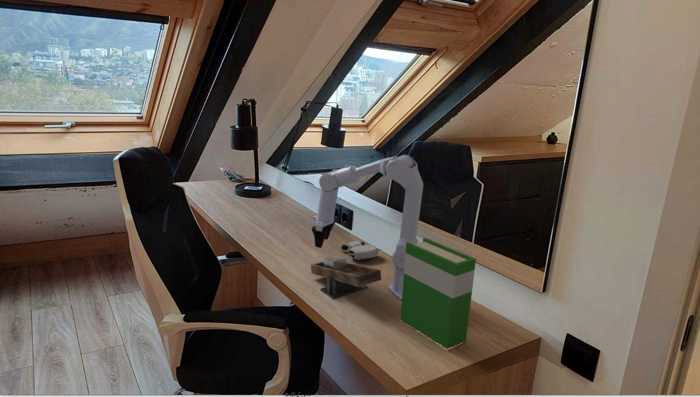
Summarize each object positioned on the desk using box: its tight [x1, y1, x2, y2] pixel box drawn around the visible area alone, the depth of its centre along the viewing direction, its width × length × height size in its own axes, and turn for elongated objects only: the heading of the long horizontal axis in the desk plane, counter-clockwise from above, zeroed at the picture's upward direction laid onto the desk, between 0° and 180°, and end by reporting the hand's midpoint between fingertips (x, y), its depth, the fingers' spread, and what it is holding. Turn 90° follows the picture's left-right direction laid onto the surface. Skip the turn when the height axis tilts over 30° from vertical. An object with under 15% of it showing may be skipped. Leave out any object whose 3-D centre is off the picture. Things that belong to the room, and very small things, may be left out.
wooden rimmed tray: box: [310, 261, 382, 287], centre depth 149 cm, size 26×9×3 cm, turn 36°
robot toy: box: [338, 240, 383, 261], centre depth 178 cm, size 12×4×15 cm
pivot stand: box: [319, 275, 368, 300], centre depth 150 cm, size 7×14×6 cm, turn 127°
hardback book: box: [400, 237, 477, 349], centre depth 125 cm, size 18×7×24 cm, turn 37°
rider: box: [322, 255, 347, 272], centre depth 153 cm, size 7×5×5 cm
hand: (321, 242), depth 161 cm, fingers open, 7 cm apart
